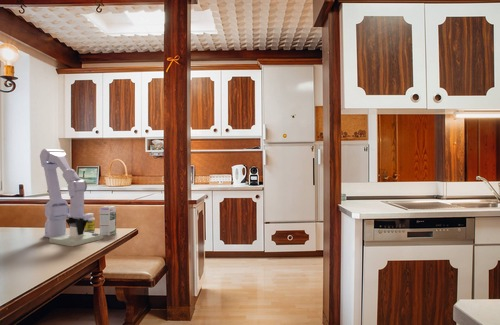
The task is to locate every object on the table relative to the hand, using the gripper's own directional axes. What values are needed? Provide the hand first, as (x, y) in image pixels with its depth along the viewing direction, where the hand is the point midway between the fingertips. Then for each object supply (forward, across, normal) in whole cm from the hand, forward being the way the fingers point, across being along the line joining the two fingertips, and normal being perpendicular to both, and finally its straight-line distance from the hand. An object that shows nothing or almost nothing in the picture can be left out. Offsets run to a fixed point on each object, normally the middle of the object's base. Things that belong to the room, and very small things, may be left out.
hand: (77, 234), depth 150 cm
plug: (+2, 0, 0) cm, 2 cm away
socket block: (+3, 0, 0) cm, 3 cm away
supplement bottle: (+3, -11, +15) cm, 19 cm away
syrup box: (+3, +2, +16) cm, 16 cm away
